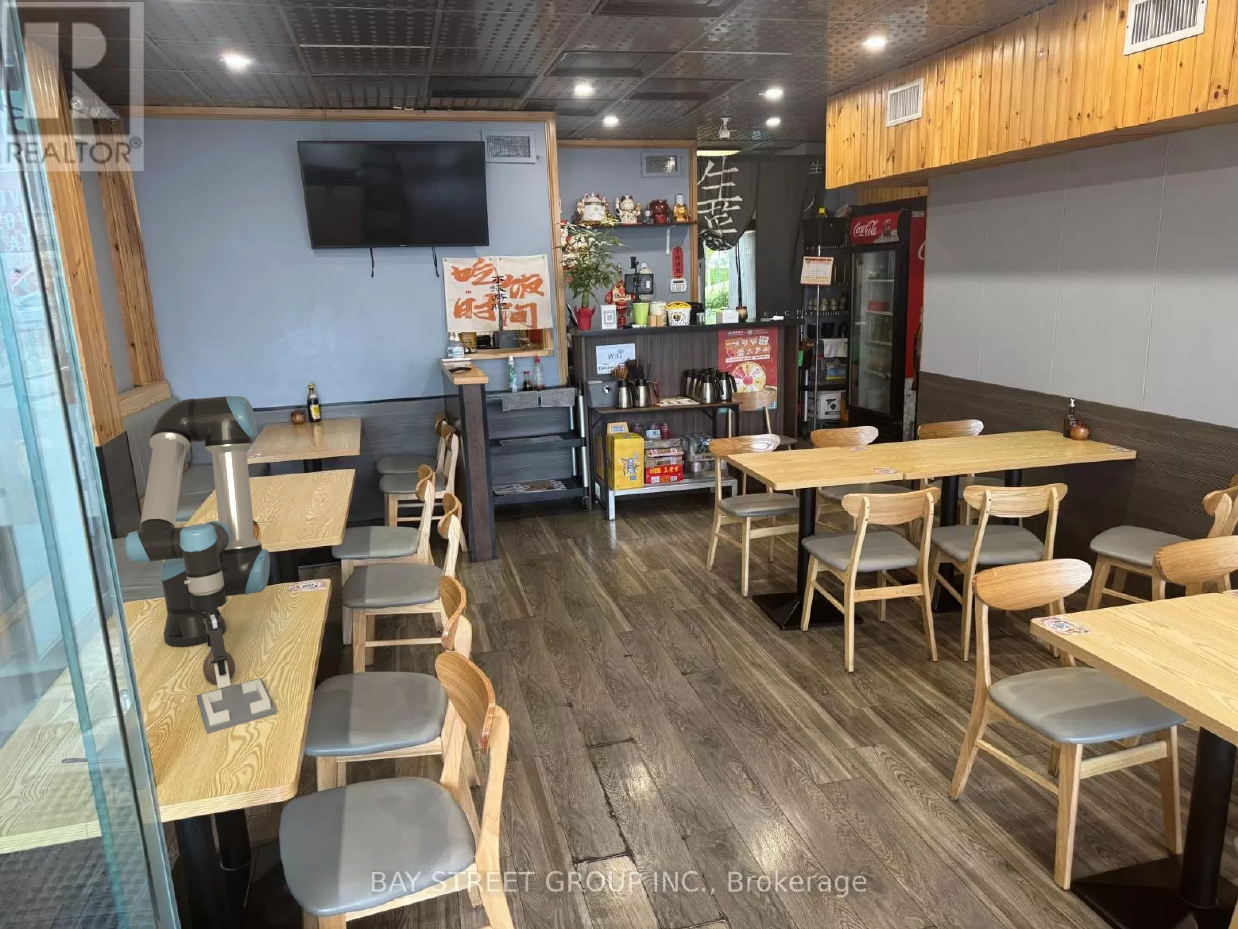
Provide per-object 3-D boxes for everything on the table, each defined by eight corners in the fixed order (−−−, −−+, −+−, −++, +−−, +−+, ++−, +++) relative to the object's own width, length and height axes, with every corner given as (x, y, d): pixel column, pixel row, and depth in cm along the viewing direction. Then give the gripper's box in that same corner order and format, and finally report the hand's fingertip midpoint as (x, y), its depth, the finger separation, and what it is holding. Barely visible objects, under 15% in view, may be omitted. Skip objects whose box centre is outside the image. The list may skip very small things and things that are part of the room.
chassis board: (197, 699, 193) (195, 687, 192) (261, 682, 200) (259, 670, 199) (206, 733, 178) (204, 720, 177) (276, 713, 185) (274, 700, 184)
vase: (228, 671, 206) (223, 639, 204) (242, 679, 202) (237, 645, 200) (200, 682, 201) (194, 649, 199) (213, 690, 197) (208, 656, 195)
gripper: (184, 582, 203) (198, 668, 207) (194, 606, 184) (209, 700, 189) (218, 575, 207) (231, 660, 211) (230, 598, 188) (245, 690, 192)
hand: (221, 679), depth 200 cm, fingers open, 9 cm apart
